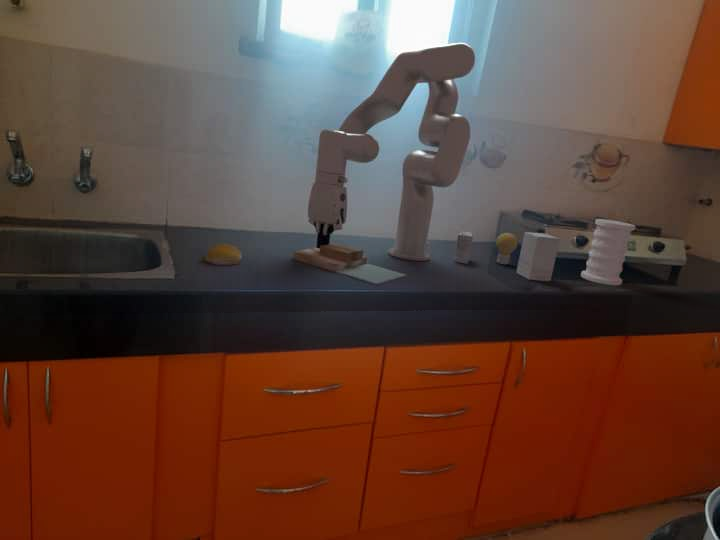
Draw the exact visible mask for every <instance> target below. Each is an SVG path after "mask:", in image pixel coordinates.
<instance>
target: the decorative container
mask: <svg viewBox="0 0 720 540" xmlns="http://www.w3.org/2000/svg"><path fill="white" fill-rule="evenodd" d="M594 224H595V225H596V227H595V229H594V231H593V239H592V241H591V243H590V245H591V249H590V250H589V252H588V256H589V257H588V260H586V265H585V266H586V267H585V270H582V271H581V273H580V277H582V279H584V280H587V281H591V282H594V283H598V284H602V285H609V286H621V285H622V284H623V279H622V278H621V277H620V274H621V273H622V272H623V263H624V262H625V260H626V257H625V256H626V255H625V254H626V253H627V251H628V250H629V246H628V244H629V242H630V241H631V238H632V237H631V232H632V231H635V229H636V225H635V224H632V223H627V222H625V221H624V222H623V221H619V220H614V219H613V220H612V219H606V218H605V219H603V218H596V219H595V221H594Z"/></svg>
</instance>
